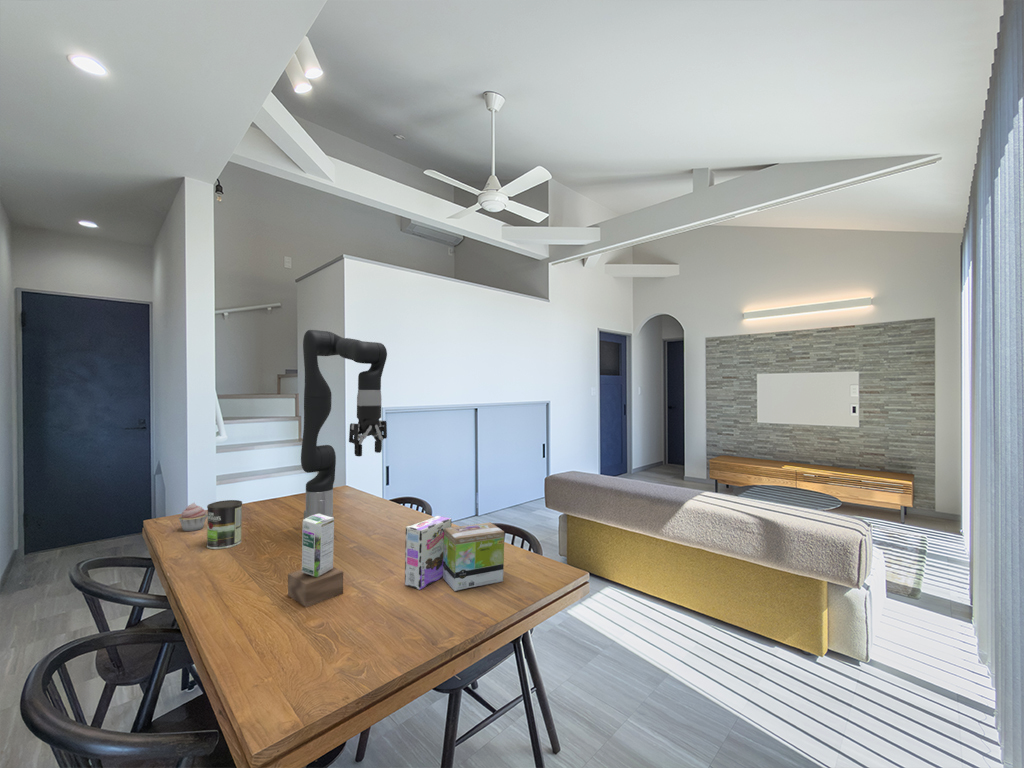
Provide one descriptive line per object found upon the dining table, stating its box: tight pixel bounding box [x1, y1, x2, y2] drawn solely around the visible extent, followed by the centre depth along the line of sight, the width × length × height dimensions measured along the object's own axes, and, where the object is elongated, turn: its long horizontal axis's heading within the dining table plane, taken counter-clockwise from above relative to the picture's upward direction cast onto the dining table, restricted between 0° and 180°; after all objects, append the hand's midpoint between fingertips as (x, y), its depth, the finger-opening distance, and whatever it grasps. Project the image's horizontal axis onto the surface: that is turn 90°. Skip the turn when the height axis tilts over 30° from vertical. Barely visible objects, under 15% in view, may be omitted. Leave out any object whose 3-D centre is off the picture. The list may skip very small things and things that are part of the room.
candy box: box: [404, 515, 452, 590], centre depth 130 cm, size 14×6×16 cm, turn 149°
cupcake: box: [178, 502, 208, 532], centre depth 173 cm, size 9×9×10 cm
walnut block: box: [287, 566, 344, 608], centre depth 120 cm, size 10×10×6 cm
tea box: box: [442, 521, 505, 592], centre depth 129 cm, size 15×10×15 cm
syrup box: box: [301, 514, 335, 577], centre depth 119 cm, size 6×6×14 cm
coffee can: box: [206, 499, 243, 550], centre depth 157 cm, size 10×10×14 cm
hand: (368, 454), depth 145 cm, fingers open, 8 cm apart
